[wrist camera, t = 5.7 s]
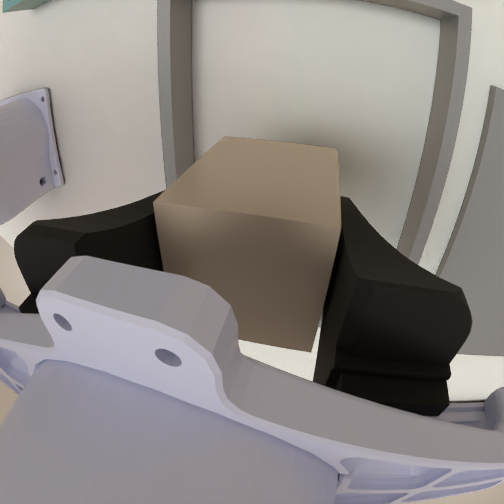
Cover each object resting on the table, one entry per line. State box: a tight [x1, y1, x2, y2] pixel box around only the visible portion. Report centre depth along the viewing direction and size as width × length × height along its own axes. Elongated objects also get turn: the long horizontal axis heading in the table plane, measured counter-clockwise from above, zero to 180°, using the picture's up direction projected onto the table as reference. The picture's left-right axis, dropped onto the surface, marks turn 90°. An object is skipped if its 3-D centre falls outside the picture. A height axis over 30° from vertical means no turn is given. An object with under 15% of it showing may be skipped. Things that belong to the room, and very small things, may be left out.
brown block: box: [153, 137, 341, 352], centre depth 11 cm, size 4×4×6 cm
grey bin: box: [157, 0, 472, 327], centre depth 19 cm, size 24×17×3 cm
